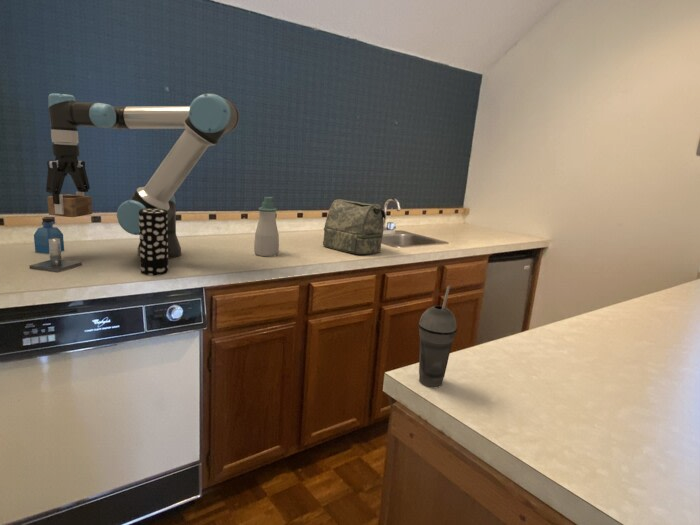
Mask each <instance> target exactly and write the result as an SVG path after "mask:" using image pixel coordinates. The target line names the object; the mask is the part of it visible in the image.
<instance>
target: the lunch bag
mask: <svg viewBox="0 0 700 525" xmlns="http://www.w3.org/2000/svg"><path fill="white" fill-rule="evenodd" d="M385 219H387V218H386V213H385V210H384V209H383V208H382V206H381V205H380V204H376V203H365V202H359V201H353V200H348V199H347V200H346V199H342V198H339V199H338V198H337V199H334V201H332V203H331V204H330V207H329V210H328V213H327V216H326V219H325V222H324V227H323V230H324V231H323V241H322V245H323V246H324V247H326V248H329V249H334V250H337V251H341V252H345V253H348V254H354V255H359V256H361V255H362V256H363V255H371V254H379V253H380V252H381V249H382V241H383V235H384V223H385V222H384V220H385Z"/></svg>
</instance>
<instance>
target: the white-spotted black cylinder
mask: <svg viewBox="0 0 700 525" xmlns="http://www.w3.org/2000/svg"><path fill="white" fill-rule="evenodd" d="M138 236H139V243H140V256H139V260H140V262H139V263H140V273H141V274H143V275H145V276H163V275H165V274H168V273H169V258H168V211H167V210H164V209H157V208H146V209H140V210H139V235H138Z"/></svg>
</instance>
